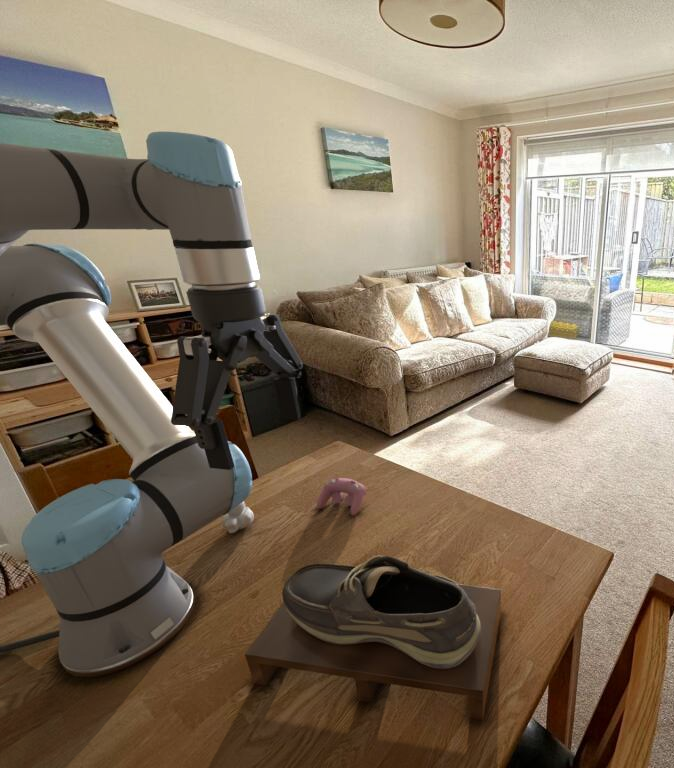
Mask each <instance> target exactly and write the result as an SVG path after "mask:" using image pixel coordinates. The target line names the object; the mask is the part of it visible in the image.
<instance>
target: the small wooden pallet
mask: <svg viewBox="0 0 674 768" xmlns="http://www.w3.org/2000/svg"><path fill="white" fill-rule="evenodd" d="M457 584H458V585H459V586H460V587H461V588H462V589H463V590H464V591H465V593H466V594H467V596H468V598H469V599H470V600H471V601H472V602H473V603H474V604H475V606H476V611H477V615H478V617H479V620H480V624H481V633H480V637H479V640H478V642H477V644H476V646H475V648H474V650H473V651H472V653H471V654H470V655H469V656H468V657H467V658H466V659H465V660H464V661H463V662H462V663H460V664H459V665H457V666H455V667H452V668H443V669H441V668H433V667H429V666H427V665H424V664H422V663H420V662H418V661H417V660H415V659H413V658H412V657H410V656H409V655H408V654H406V653H404V652H403V651H401V650H399V649H397V648H395V647H393V646H391V645H388V644H385V643H381V642H363V643H355V644H334V643H330V642H326V641H323V640H321V639H319V638H317V637H315V636H314V635H312V634H310V633H309V632H307V631H306V630H304V629H303V628H302V627H301V626H300V625H299V624H297V623H296V621H295V620H294V619H293V617H292V616H291V615H290V614H289V613H288V611H287V609H286V608H285V605H284V602H283V601H282V603H281V604H280V606H279V608H277V611H276V612H275V613H274V614H273V615H272V617H271V618H270V620H269V621H268V622H267V623H266V625H265V626H264V627H263V629H262V630H261V632H260V633H259V634H258V636H257V637H256V638H255V640H254V641H253V642H252V644H251V645H250V646H249V648H248V649H247V650H246V652H245V653H244V657H245V660H246V663H247V666H248V668H249V672H250V676H251V678H252V681H253V684H255V685H260V686H267V685H268V683H269V682H270V681H271V679H272V677H273V676H274V674H275V673H276V671H277V670H278V668H285V669H292V670H298V671H304V672H311V673H317V674H324V675H330V676H337V677H342V678H343V677H344V678H350V679H354V682H355V688H356V694H357V699H358V701H360V702H365V703H372V702H373V699H374V697H375V694H376V692H377V689H378V687H379V685H380V683H382V684H389V685H394V686H395V685H396V686H400V687H408V688H414V689H420V690H421V689H422V690H427V691H432V692H433V691H434V692H439V693H447V694H452V695H460V696H465V697H468V704H469V705H468V710H469V711H468V712H469V713H468V715H469V719H471V720H477V721H483V720H484V718H485V717H484V716H485V710H486V704H487V698H488V693H489V686H490V680H491V675H492V670H493V669H492V668H493V662H494V658H495V651H496V645H497V638H498V633H499V628H500V627H499V626H500V622H501V621H500V620H501V610H502V609H501V603H502V602H501V601H502V589H501V588H500V589H499V588H491V587H483V586H476V585H468V584H460V583H457Z"/></svg>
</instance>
